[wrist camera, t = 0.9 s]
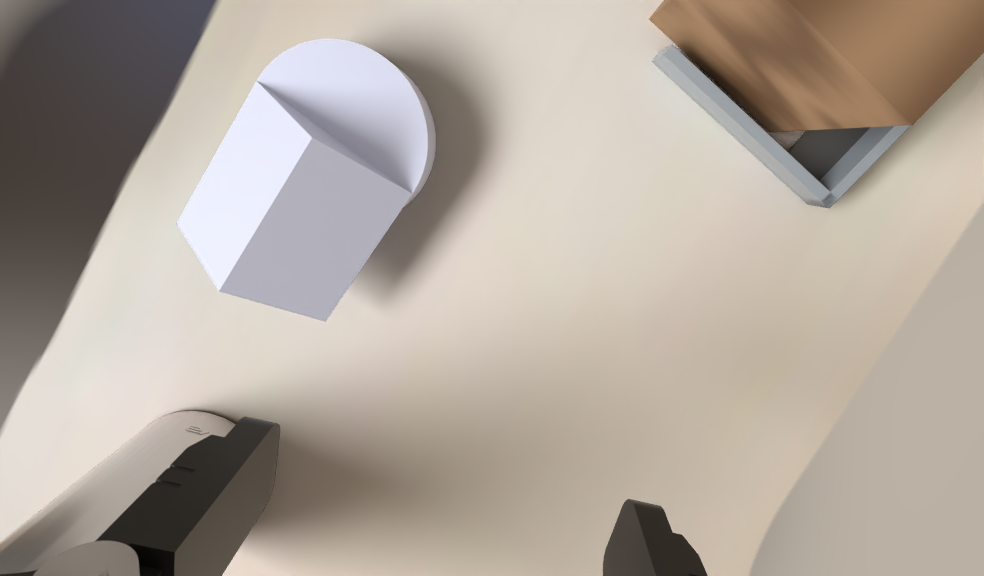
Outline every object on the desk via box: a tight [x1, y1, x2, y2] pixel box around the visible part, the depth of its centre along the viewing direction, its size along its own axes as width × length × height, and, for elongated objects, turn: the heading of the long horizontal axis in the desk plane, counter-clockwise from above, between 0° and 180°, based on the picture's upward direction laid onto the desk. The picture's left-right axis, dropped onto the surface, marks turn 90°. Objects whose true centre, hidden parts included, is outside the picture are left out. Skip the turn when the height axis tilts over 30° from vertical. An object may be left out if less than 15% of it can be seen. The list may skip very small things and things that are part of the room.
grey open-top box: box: [652, 45, 910, 208], centre depth 26 cm, size 12×8×2 cm, turn 51°
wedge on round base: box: [176, 39, 436, 321], centre depth 25 cm, size 9×7×13 cm
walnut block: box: [649, 0, 984, 132], centre depth 22 cm, size 9×5×10 cm, turn 51°
